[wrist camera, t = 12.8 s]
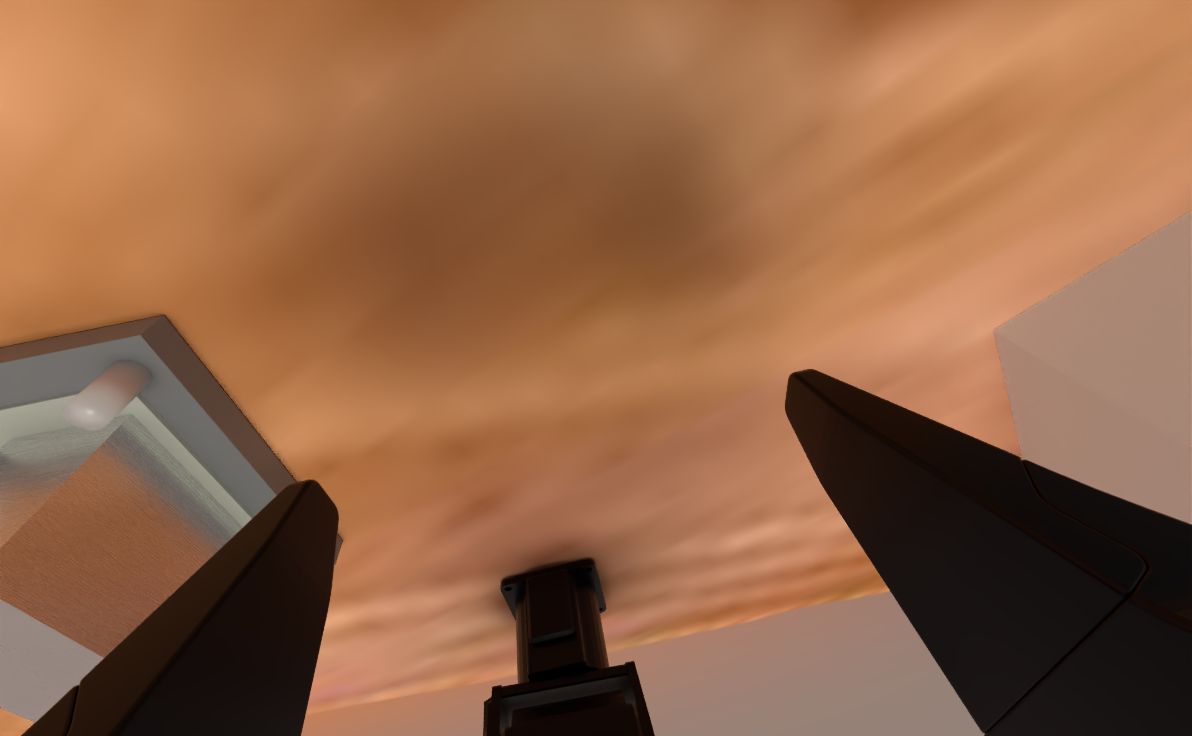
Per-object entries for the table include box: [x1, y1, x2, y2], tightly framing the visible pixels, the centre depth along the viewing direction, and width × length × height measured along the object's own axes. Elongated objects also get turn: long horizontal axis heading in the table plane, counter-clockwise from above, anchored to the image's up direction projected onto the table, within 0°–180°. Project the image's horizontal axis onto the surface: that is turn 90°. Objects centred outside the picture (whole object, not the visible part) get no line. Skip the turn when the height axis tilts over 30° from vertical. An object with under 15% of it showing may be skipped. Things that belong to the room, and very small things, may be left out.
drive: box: [0, 414, 243, 722], centre depth 18 cm, size 9×5×7 cm, turn 8°
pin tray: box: [0, 315, 343, 565], centre depth 21 cm, size 15×9×4 cm, turn 8°
